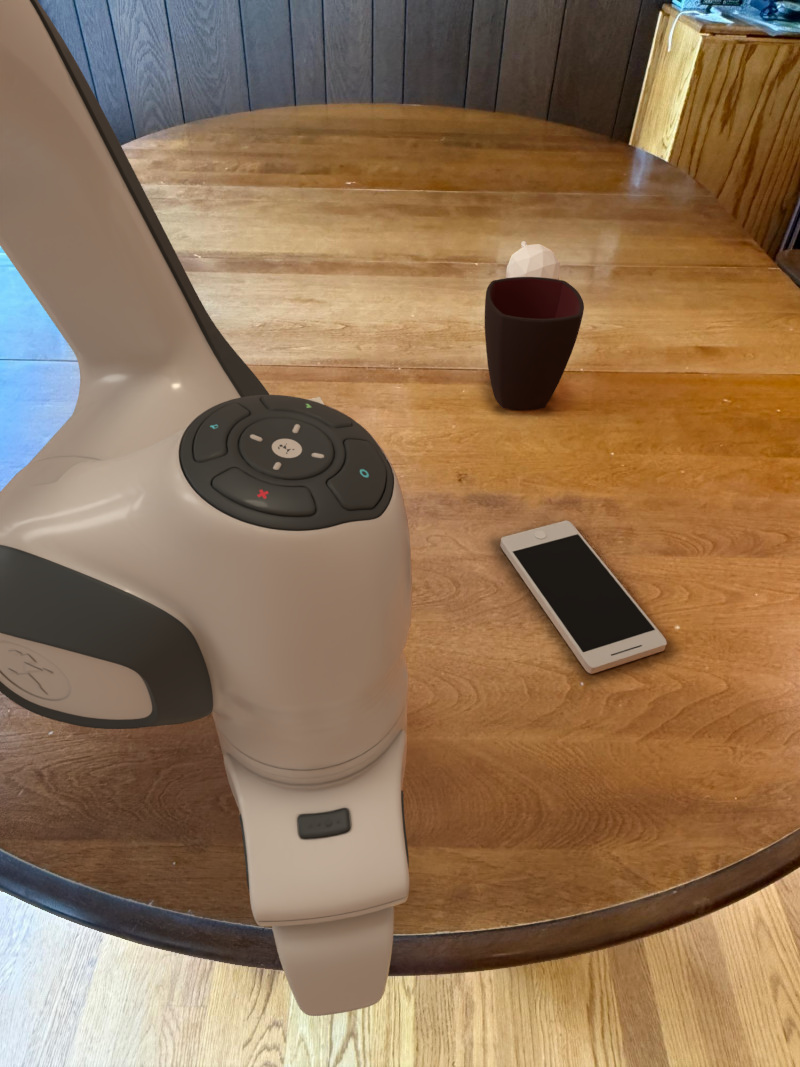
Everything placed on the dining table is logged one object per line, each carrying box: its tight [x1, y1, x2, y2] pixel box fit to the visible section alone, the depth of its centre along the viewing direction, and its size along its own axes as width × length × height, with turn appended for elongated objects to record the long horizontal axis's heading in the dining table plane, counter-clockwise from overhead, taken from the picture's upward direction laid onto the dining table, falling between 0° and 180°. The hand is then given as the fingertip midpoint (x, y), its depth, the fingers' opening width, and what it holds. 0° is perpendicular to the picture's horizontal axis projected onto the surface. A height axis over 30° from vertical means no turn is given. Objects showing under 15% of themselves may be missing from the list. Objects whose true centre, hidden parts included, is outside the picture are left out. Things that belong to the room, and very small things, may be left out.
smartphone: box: [500, 520, 668, 675], centre depth 65 cm, size 7×16×1 cm, turn 21°
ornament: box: [505, 240, 561, 280], centre depth 103 cm, size 7×7×8 cm
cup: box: [484, 277, 585, 412], centre depth 85 cm, size 10×14×12 cm
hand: (327, 851), depth 46 cm, fingers closed
